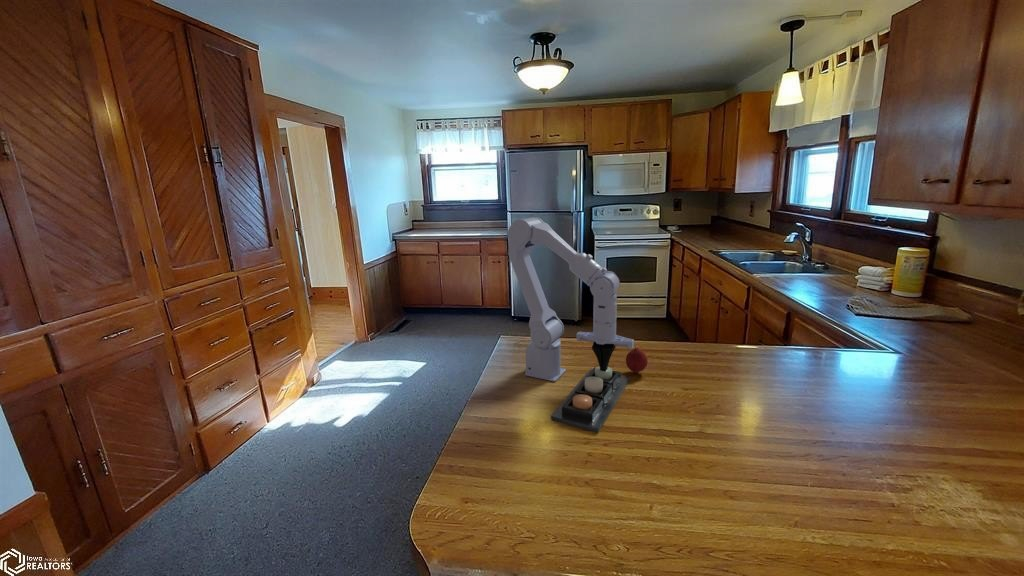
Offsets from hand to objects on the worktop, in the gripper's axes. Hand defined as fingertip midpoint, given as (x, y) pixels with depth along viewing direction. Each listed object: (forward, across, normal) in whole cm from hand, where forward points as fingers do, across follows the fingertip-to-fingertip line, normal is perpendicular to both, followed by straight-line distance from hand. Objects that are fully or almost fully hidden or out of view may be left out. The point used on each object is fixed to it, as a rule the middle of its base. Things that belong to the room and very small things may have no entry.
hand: (603, 369), depth 108 cm
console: (+4, 0, -8) cm, 9 cm away
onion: (+5, +6, +11) cm, 13 cm away
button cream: (+2, 0, -8) cm, 8 cm away
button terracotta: (+3, 0, -16) cm, 16 cm away
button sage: (+2, 0, 0) cm, 3 cm away
